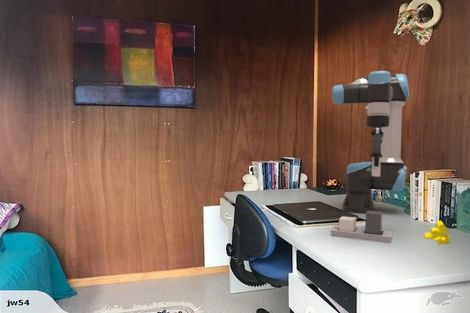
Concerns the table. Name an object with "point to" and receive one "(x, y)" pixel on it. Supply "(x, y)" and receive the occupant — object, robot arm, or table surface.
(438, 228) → the yellow lumpy cluster
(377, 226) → the block
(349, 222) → the block
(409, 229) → the table surface
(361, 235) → the power strip
